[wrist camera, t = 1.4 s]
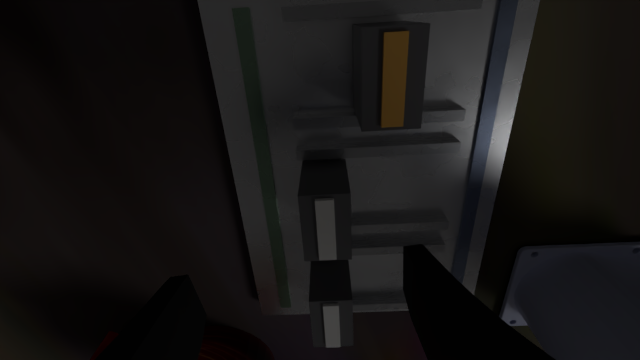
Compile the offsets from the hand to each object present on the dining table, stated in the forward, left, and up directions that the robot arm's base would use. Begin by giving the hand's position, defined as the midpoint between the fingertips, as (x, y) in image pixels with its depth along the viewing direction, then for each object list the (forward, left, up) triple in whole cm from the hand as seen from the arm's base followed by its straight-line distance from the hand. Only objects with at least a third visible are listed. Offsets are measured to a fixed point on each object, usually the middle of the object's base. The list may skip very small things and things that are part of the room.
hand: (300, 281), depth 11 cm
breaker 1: (-1, +2, -9) cm, 9 cm away
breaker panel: (-3, +2, -10) cm, 11 cm away
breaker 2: (-1, +9, -9) cm, 12 cm away
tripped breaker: (-4, -5, -9) cm, 11 cm away
